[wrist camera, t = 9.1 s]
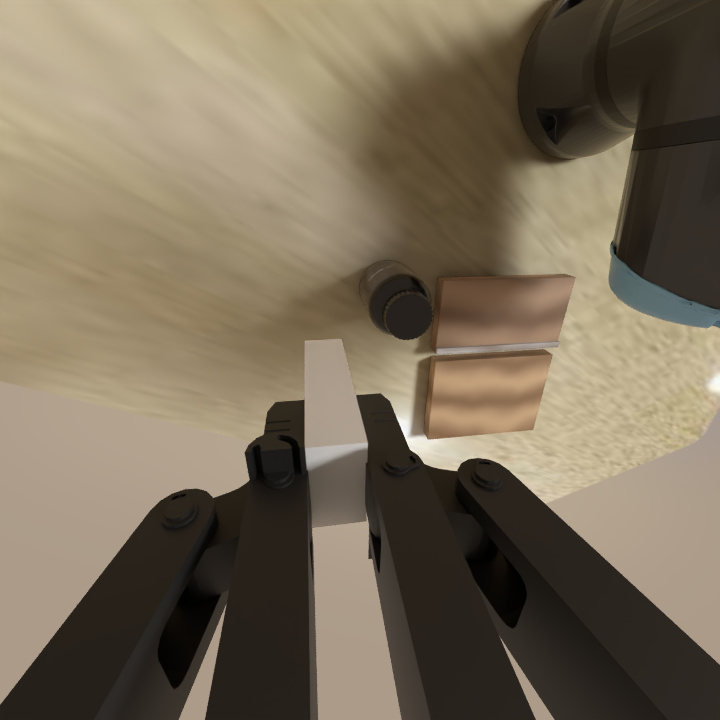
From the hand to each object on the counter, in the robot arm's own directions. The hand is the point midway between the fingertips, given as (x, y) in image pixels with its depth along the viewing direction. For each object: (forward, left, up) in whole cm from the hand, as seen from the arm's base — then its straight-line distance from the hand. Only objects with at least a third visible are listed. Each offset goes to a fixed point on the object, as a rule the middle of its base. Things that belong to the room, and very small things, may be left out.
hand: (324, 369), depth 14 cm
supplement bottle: (+4, +9, -30) cm, 31 cm away
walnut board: (+8, +25, -29) cm, 39 cm away
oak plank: (+21, +25, -29) cm, 44 cm away
